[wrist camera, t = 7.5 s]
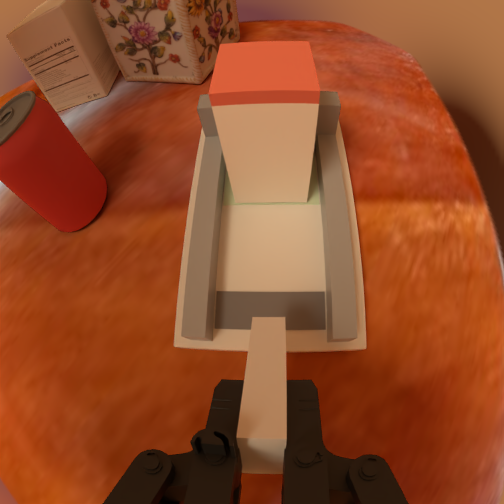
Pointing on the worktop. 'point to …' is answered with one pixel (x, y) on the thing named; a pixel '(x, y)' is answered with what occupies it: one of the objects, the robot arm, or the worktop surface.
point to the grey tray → (272, 253)
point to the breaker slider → (266, 118)
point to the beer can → (48, 164)
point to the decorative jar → (167, 36)
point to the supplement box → (66, 52)
